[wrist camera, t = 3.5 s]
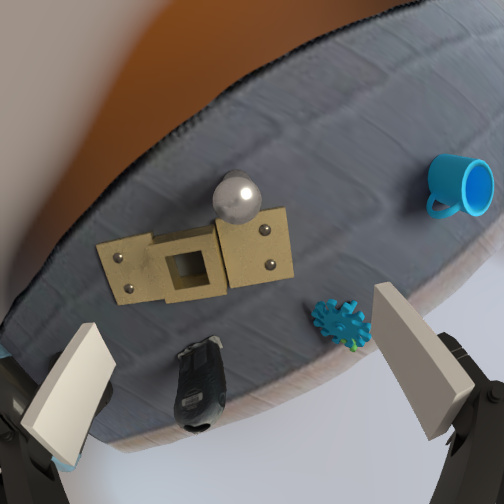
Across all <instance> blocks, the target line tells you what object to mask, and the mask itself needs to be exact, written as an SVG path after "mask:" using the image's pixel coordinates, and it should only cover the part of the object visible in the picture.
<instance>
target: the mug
mask: <svg viewBox="0 0 504 504" xmlns="http://www.w3.org/2000/svg"><path fill="white" fill-rule="evenodd" d="M428 185H429V189H430V192H431V195H430V196H429V198H428V200H427V205H426V209H427V212H428V214H429V215H430V216H431V217H432V218H436V219H442V218H446V217H449V216H451V215H453V214H454V213H456V212H457V211H459V210H460V211H463V212H465V213H467V214H470V215H472V216H479V215H482V214H483V213H484V212H485V211H486V210H487V209H488V207H489V205H490V204H491V201H492V198H493V192H494V179H493V175H492V171H491V169H490V167H489V166H488V164H486V163H485V162H484V161H482V160H479V159H474V158H468V157H462V156H456V155H450V154H441V155H439V156H437V157H436V158H435V159H434V160H433V162H432V163H431V165H430V168H429V171H428ZM435 200H437V201H439V202H440V203H443V204H445V205H448V206H450V208H447V209H445V210H442V211H434V210H432V205H433V203H434V201H435Z"/></svg>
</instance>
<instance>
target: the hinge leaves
mask: <svg viewBox="0 0 504 504" xmlns="http://www.w3.org/2000/svg"><path fill="white" fill-rule="evenodd" d="M216 225H217V230H218V234H219V239H220V243H221V248H222V252H223V257H224V261H225V266H226V270H227V274H228V279H229V283H230V287H231V288H235V287H241V286H247V285H253V284H259V283H264V282H270V281H275V280H281V279H286V278H291V277H294V273H293V264H292V256H291V248H290V240H289V233H288V225H287V218H286V211H285V207H284V206H281V207H275V208H269V209H263V210H259V212H258V214H257V215H256V216H255V217H254V218H253V219H252V220H251V221H249V222H247V223H245V224H240V225H234V224H229V223H227V222H225V221H223V220H222V219H221V218H220V217H219V218H216ZM96 247H97V250H98V253H99V256H100V259H101V262H102V265H103V268H104V270H105V273H106V276H107V278H108V281H109V284H110V286H111V289H112V291H113V294H114V296H115V299H116V301H117V303H118V305H124V304H131V303H138V302H146V301H153V300H159V299H165V301H166V304H168V303H175V302H182V301H188V300H195V299H201V298H208V297H214V296H220V295H226V294H227V282H228V280H227V276H226V271H225V267H224V263H223V258H222V254H221V249H220V245H219V240H218V236H217V231H216V227H215V224H213V225H208V226H203V227H198V228H193V229H188V230H183V231H178V232H173V233H168V234H163V235H158V236H155V238H154V235H153V232H152V231H150V232H145V233H141V234H136V235H132V236H128V237H123V238H119V239H115V240H110V241H106V242H102V243H98V244H97V245H96ZM199 250H201V251H202V255H203V259H204V263H205V266H206V270H207V272H206V273H200V274H194V275H188V276H182V277H180V275H179V271H178V268H177V264H176V261H175V258H174V255H177V254H182V253H188V252H193V251H199Z"/></svg>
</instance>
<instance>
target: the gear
mask: <svg viewBox="0 0 504 504" xmlns="http://www.w3.org/2000/svg"><path fill="white" fill-rule="evenodd" d="M336 304H337V301H336V300H333V299H329V300H328V302H327V303H326V305H327V307H328V308H329V311H328V310H326V308H325V303H324V302H323V301H320V302H318V303H317V304H316V305H315V307H316V308H315V309H314V310H313V312H312V313H311V315H312V316H313V317H316V319H315V320H314V325H315V326H317V327H323V329H322V330H321V333H322V335H323V336H328V335H335V336H334V337H333V339H332V341H333V342H334V343H336V344H339V342H340V340H341V342H342V343H345V344H344V345H345V346H346V347H349V348H350V351H352V352H355V351H356V349H357V347H363V346H364V344H365V342H368V341H369V340H370V339H371V337H372V335H371V334H370V333H369V331H370V329H371V324H370V323H362V321H363V319H364V318H365V316H364V314H363V313H362V312H361V311H358V312H357V313H355V314H352V312H353V310H354V308H355V306H356V305H357V302H356V301H355V300H352V301H351V303H350V304H348V303H347V302H344V303H343V305H342V307H341V309H340V310H336V309H335V308H334V307H335V306H336ZM321 313H322V314H321ZM359 335H360V336H361V337H362V338H361V337H360V336H359Z"/></svg>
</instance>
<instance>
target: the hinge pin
mask: <svg viewBox="0 0 504 504" xmlns="http://www.w3.org/2000/svg"><path fill="white" fill-rule="evenodd" d="M261 203H262V199H261V194H260V191H259V189H258V187H257V186H256V184H255V183H254V182H253V181H251V179H250V177H249V175H248V174H247V173H246V172H244V171H243V170H239V169H235V170H231V171H229V172H228V173H227V174H226V175H225V176H224V179H223V181H222V182H221V183H220V184H219V185H218V186H217V188H216V190H215V192H214V195H213V207H214V210H215V212H216V214H217V215H218V216H219V217H220V218H221V219H222V220H223V221H225V222H227V223H229V224H234V225H240V224H245V223H247V222H249V221H251V220H252V219H253V218H254V217H255V216H256V215H257V214H258V212H259V210H260V208H261Z"/></svg>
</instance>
